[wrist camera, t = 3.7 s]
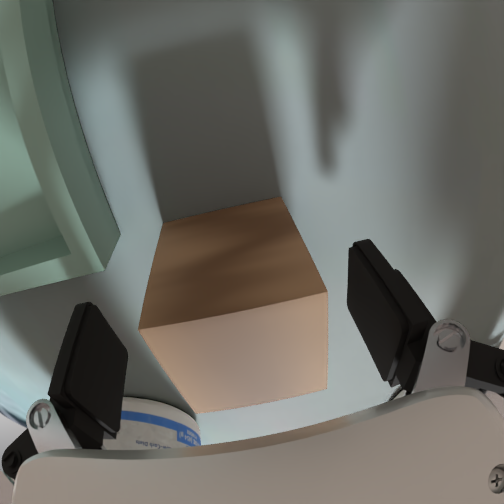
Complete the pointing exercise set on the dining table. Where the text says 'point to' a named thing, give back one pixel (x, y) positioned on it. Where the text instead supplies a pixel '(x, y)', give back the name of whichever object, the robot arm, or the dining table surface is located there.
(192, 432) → the supplement tub
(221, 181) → the dining table surface
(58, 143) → the rest tray
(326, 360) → the walnut block
